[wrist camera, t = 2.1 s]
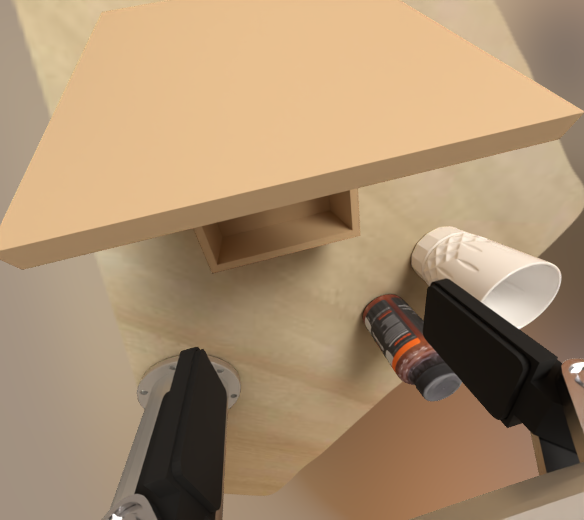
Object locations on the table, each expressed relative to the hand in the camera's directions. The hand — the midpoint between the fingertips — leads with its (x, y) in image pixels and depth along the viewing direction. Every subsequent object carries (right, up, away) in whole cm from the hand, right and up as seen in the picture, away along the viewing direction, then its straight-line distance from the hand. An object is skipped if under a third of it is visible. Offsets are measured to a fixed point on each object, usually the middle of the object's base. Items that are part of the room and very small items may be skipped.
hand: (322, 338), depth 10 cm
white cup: (+16, +4, +20) cm, 26 cm away
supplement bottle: (+11, -3, +23) cm, 25 cm away
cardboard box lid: (-3, +10, -1) cm, 11 cm away
